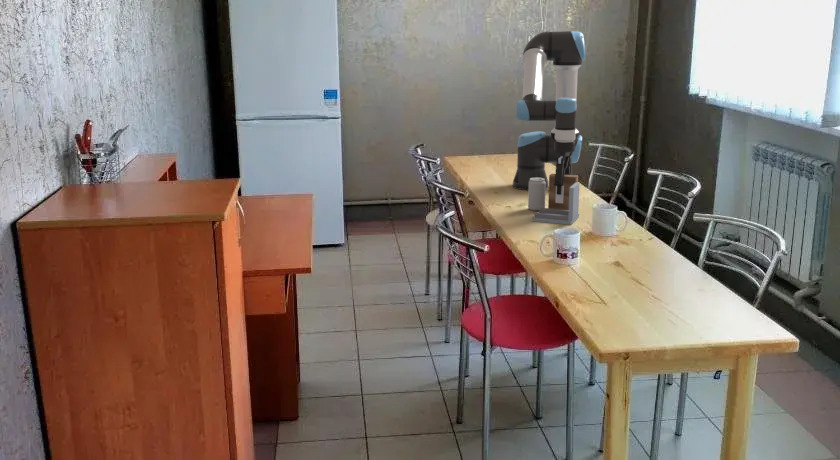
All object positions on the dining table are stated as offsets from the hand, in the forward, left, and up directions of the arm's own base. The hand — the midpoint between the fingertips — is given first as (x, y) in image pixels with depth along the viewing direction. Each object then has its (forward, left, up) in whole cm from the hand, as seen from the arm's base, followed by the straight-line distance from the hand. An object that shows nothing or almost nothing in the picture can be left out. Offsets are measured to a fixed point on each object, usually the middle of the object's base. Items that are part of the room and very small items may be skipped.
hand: (562, 199), depth 296 cm
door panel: (0, 0, -5) cm, 5 cm away
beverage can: (0, -10, -5) cm, 11 cm away
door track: (+11, 0, -5) cm, 12 cm away
